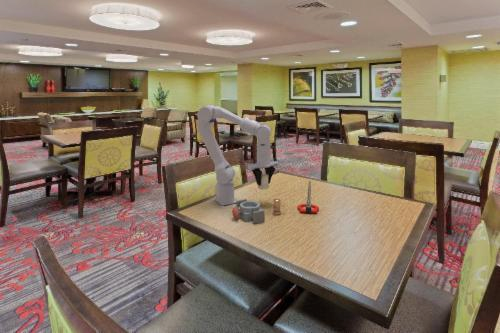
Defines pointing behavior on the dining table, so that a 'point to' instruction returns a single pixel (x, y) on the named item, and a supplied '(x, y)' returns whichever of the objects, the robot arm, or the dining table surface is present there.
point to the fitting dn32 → (276, 207)
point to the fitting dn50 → (264, 181)
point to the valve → (249, 211)
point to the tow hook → (308, 204)
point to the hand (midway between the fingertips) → (263, 184)
